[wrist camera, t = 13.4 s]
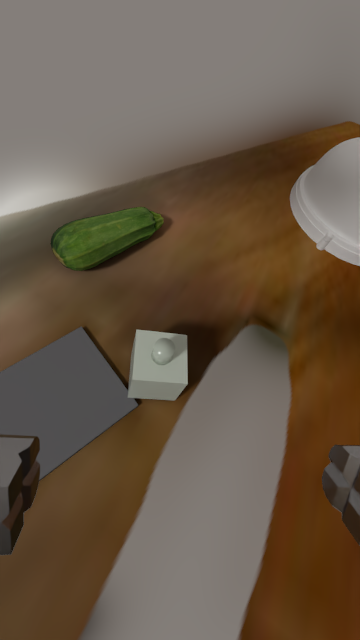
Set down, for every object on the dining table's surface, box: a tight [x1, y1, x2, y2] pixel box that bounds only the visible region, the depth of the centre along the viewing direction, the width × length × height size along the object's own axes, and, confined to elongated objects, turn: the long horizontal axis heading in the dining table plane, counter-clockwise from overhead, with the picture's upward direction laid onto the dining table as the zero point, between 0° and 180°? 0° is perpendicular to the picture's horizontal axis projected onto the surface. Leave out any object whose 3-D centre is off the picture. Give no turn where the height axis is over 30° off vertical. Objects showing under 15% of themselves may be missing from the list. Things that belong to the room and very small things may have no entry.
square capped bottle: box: [128, 330, 188, 400], centre depth 37 cm, size 6×6×10 cm
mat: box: [0, 327, 138, 481], centre depth 37 cm, size 14×16×1 cm
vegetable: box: [51, 207, 164, 271], centre depth 48 cm, size 7×7×20 cm
